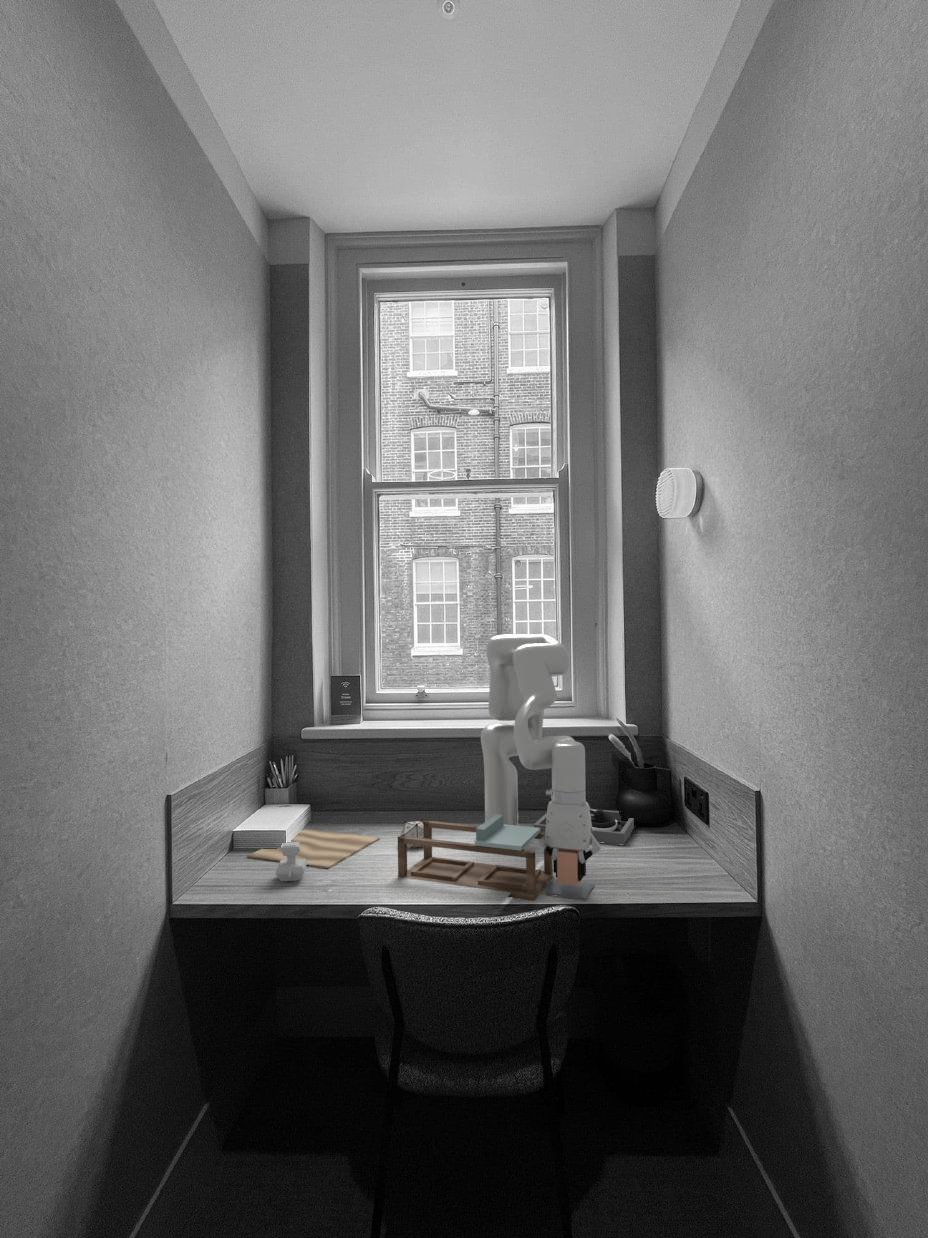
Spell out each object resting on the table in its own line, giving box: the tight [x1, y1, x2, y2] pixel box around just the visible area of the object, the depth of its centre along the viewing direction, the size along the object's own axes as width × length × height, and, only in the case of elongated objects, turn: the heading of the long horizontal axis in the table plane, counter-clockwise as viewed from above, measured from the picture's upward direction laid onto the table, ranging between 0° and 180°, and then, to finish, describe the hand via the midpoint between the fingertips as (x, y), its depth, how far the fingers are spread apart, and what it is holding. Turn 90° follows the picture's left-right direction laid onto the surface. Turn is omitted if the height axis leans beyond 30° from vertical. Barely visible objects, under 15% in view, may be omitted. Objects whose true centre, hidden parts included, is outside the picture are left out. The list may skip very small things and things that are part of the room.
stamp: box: [275, 842, 307, 882], centre depth 173 cm, size 9×7×8 cm
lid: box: [474, 814, 540, 851], centre depth 168 cm, size 15×11×4 cm
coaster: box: [544, 878, 595, 901], centre depth 163 cm, size 9×9×1 cm
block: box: [556, 849, 581, 885], centre depth 163 cm, size 4×4×7 cm
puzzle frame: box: [397, 820, 554, 902], centre depth 171 cm, size 16×33×10 cm, turn 68°
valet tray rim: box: [533, 808, 635, 846], centre depth 210 cm, size 22×25×3 cm
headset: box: [589, 806, 627, 831], centre depth 211 cm, size 17×8×20 cm
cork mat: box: [246, 828, 381, 869], centre depth 196 cm, size 26×25×1 cm
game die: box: [397, 817, 424, 849], centre depth 194 cm, size 9×8×10 cm
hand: (569, 876), depth 163 cm, fingers closed on block, 4 cm apart
